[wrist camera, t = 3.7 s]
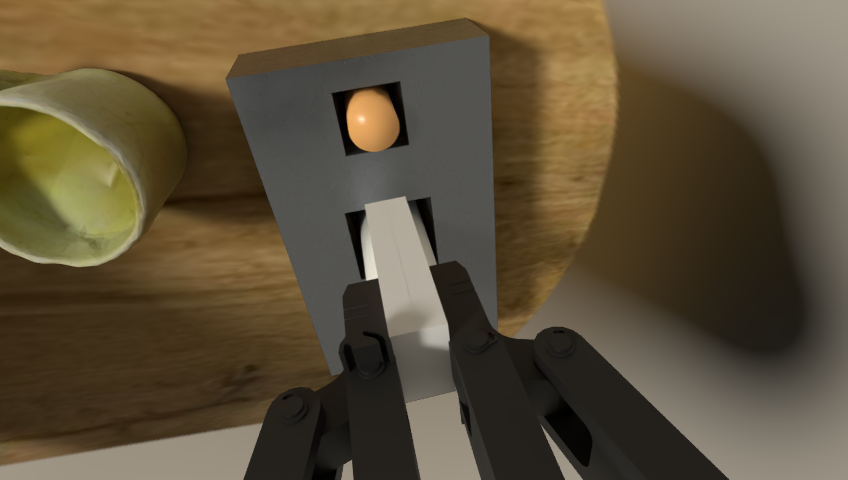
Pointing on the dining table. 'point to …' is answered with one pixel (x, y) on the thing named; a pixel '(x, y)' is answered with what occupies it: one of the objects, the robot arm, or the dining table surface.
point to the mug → (83, 164)
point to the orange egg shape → (371, 118)
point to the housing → (373, 154)
